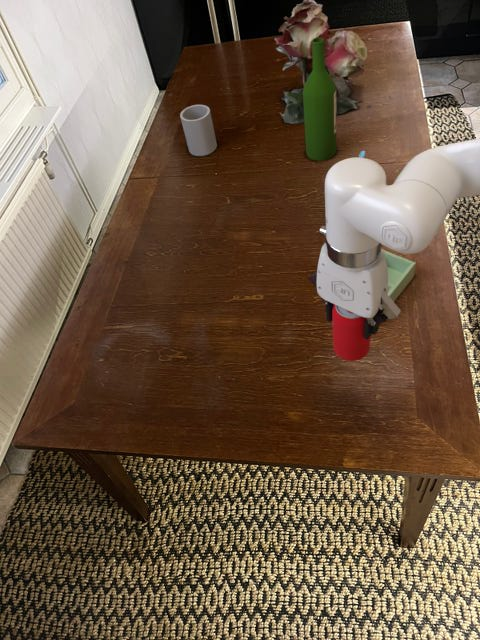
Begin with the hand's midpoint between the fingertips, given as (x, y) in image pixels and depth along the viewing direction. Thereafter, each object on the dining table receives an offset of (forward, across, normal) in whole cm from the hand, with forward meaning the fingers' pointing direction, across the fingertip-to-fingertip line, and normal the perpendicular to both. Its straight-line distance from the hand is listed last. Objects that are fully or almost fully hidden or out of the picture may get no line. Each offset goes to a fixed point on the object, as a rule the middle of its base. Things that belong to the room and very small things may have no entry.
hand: (351, 323), depth 87 cm
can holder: (+24, -9, +27) cm, 37 cm away
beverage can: (+7, 0, 0) cm, 7 cm away
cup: (+23, -86, +53) cm, 103 cm away
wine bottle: (+24, -50, +68) cm, 87 cm away
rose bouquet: (+24, -68, +93) cm, 117 cm away
